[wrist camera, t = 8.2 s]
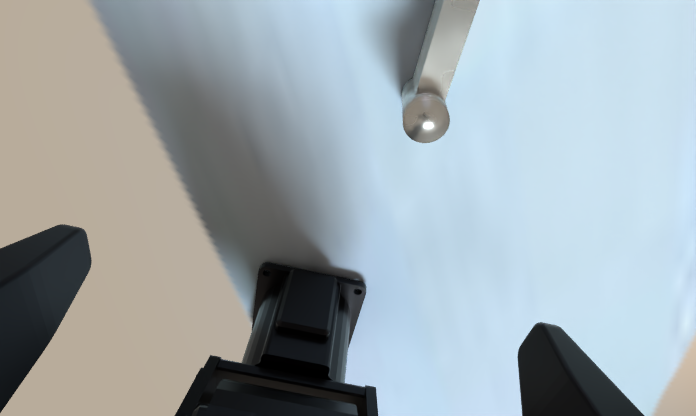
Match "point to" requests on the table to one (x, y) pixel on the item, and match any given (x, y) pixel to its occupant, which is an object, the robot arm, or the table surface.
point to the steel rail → (436, 70)
